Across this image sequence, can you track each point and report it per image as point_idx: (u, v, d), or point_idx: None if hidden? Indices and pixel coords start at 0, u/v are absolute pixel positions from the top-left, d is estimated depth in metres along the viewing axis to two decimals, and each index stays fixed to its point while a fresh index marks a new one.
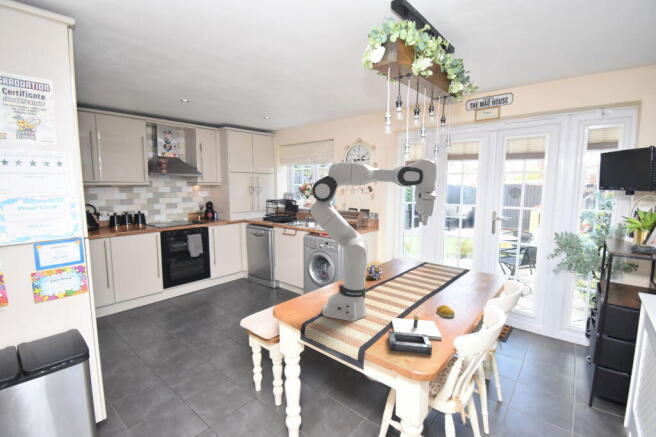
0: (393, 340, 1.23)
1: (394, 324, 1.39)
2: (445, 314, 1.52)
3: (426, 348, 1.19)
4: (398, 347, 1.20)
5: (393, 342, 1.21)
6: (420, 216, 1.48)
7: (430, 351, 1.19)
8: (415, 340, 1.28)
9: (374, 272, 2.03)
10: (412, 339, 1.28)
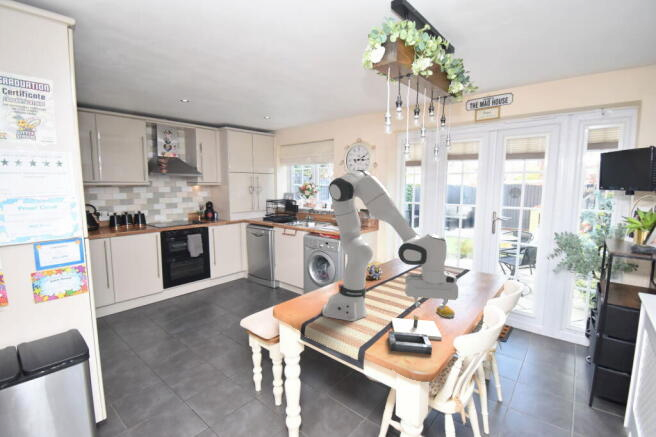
0: (393, 340, 1.23)
1: (394, 324, 1.39)
2: (445, 314, 1.52)
3: (426, 348, 1.19)
4: (398, 347, 1.20)
5: (393, 342, 1.21)
6: (416, 300, 1.22)
7: (430, 351, 1.19)
8: (415, 340, 1.28)
9: (374, 272, 2.03)
10: (412, 339, 1.28)
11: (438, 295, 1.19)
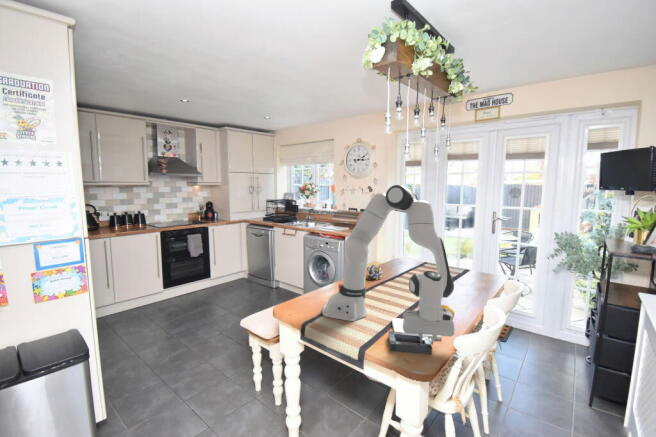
0: (393, 340, 1.23)
1: (394, 324, 1.39)
2: None
3: (426, 348, 1.19)
4: (398, 347, 1.20)
5: (393, 342, 1.21)
6: None
7: (430, 351, 1.19)
8: (415, 340, 1.28)
9: (374, 272, 2.03)
10: (412, 339, 1.28)
11: (435, 332, 1.21)
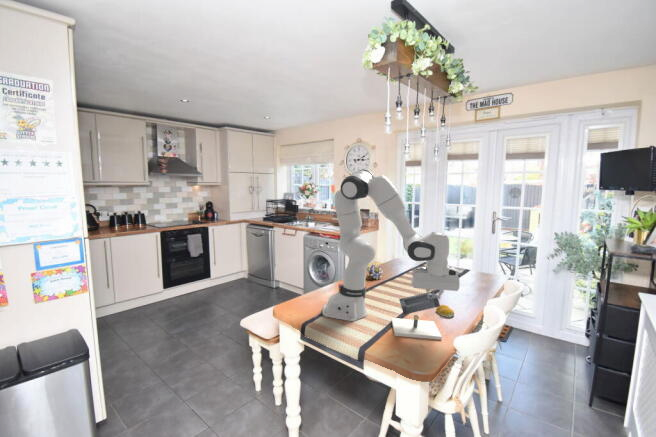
0: (404, 305, 1.35)
1: (394, 324, 1.39)
2: (445, 314, 1.52)
3: (433, 302, 1.31)
4: (409, 309, 1.32)
5: (404, 307, 1.33)
6: (428, 292, 1.35)
7: (438, 303, 1.30)
8: (424, 299, 1.39)
9: (374, 272, 2.03)
10: (421, 299, 1.39)
11: (441, 286, 1.32)
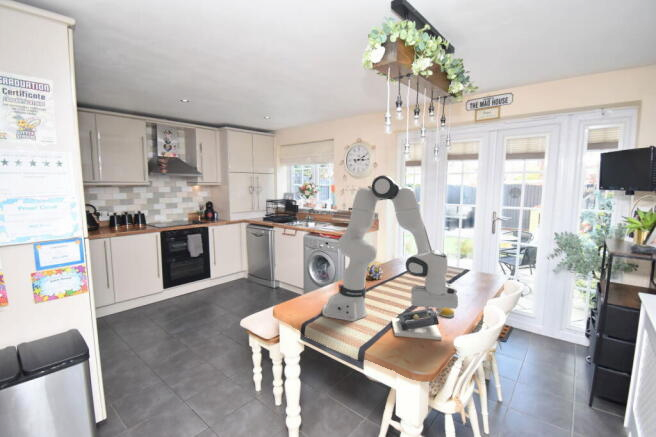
0: (403, 321, 1.36)
1: (394, 324, 1.39)
2: (445, 314, 1.52)
3: (433, 320, 1.32)
4: (408, 326, 1.34)
5: (403, 323, 1.34)
6: (427, 309, 1.37)
7: (437, 321, 1.32)
8: (423, 316, 1.41)
9: (374, 272, 2.03)
10: (420, 316, 1.41)
11: (440, 304, 1.34)
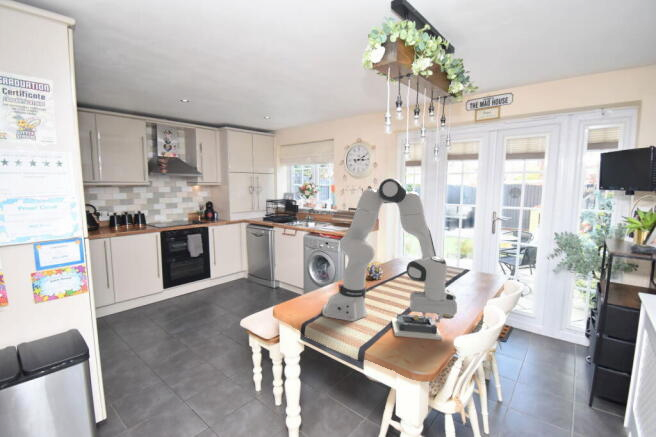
0: (402, 321, 1.36)
1: (394, 324, 1.39)
2: (444, 314, 1.52)
3: (431, 328, 1.32)
4: (406, 327, 1.34)
5: (402, 323, 1.34)
6: (424, 315, 1.37)
7: (435, 331, 1.32)
8: (421, 322, 1.41)
9: (374, 272, 2.03)
10: (418, 321, 1.41)
11: (439, 310, 1.34)
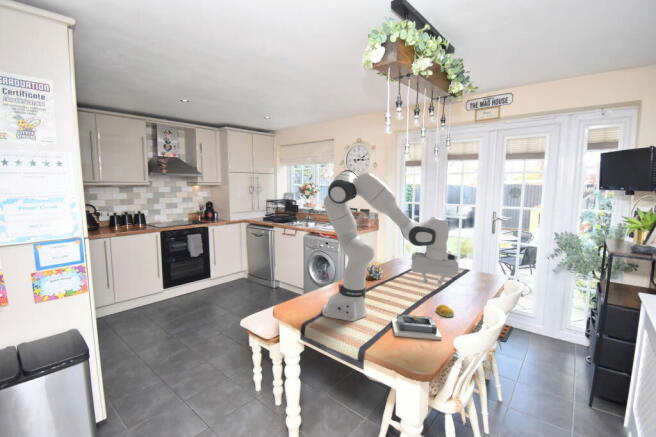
0: (402, 321, 1.36)
1: (394, 324, 1.39)
2: (444, 313, 1.52)
3: (431, 328, 1.32)
4: (406, 327, 1.34)
5: (402, 323, 1.34)
6: (424, 276, 1.37)
7: (435, 331, 1.32)
8: (421, 322, 1.41)
9: (374, 272, 2.03)
10: (418, 321, 1.41)
11: (440, 271, 1.34)
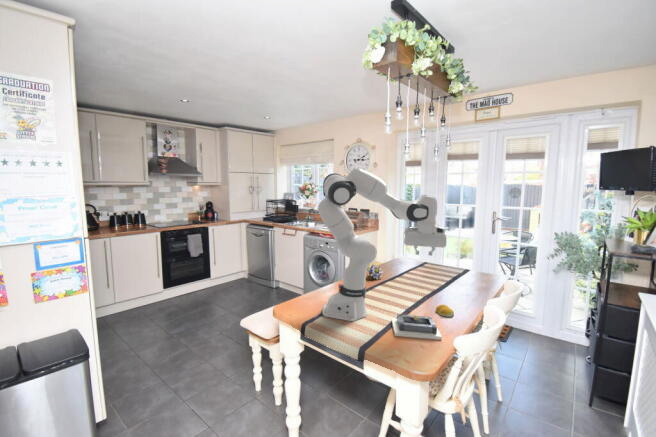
0: (402, 321, 1.36)
1: (394, 324, 1.39)
2: (444, 313, 1.53)
3: (431, 328, 1.32)
4: (406, 327, 1.34)
5: (402, 323, 1.34)
6: (416, 249, 1.51)
7: (435, 331, 1.32)
8: (421, 322, 1.41)
9: (374, 272, 2.03)
10: (418, 321, 1.41)
11: (430, 243, 1.48)
